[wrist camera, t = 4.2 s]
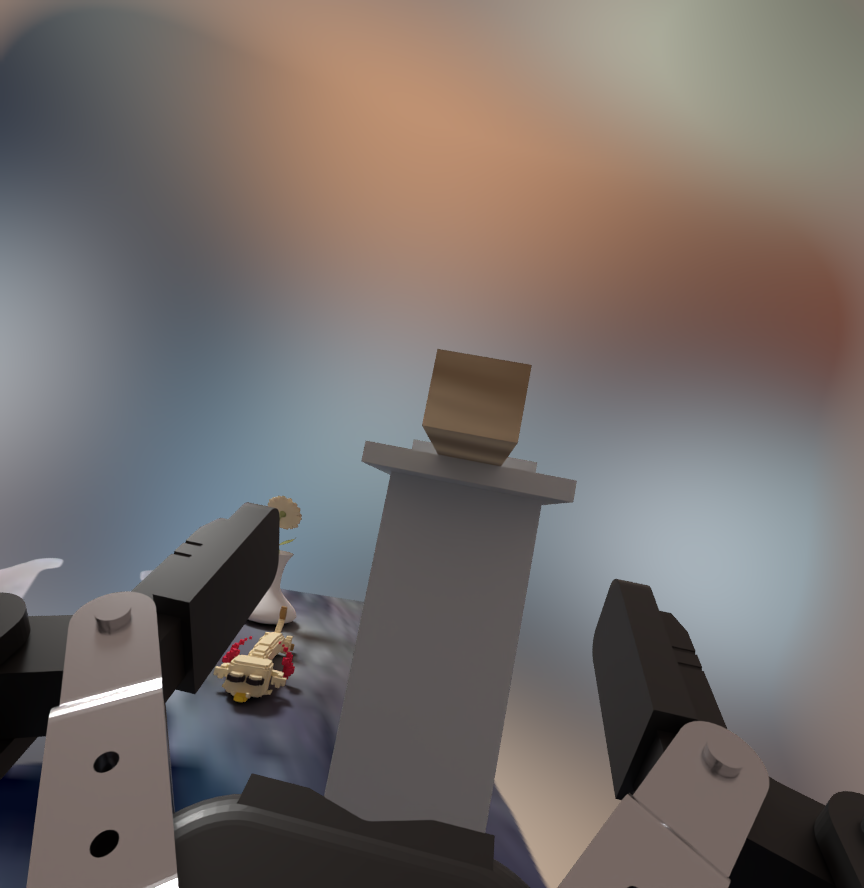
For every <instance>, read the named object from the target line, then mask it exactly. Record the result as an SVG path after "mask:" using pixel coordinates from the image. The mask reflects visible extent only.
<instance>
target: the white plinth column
mask: <svg viewBox="0 0 864 888" xmlns="http://www.w3.org/2000/svg"><path fill="white" fill-rule="evenodd" d="M362 462H364V463H366V464H368V465H371V466H373V467H375V468H377V469H379V470H381V471H383V472H385V473H388V474H390V480H389V485H388V490H387V495H386V499H385V504H384V509H383V514H382V520H381V524H380V528H379V534H378V538H377V543H376V548H375V553H374V558H373V562H372V568H371V572H370V577H369V582H368V587H367V591H366V597H365V601H364V606H363V611H362V616H361V620H360V625H359V630H358V635H357V640H356V645H355V650H354V654H353V659H352V664H351V669H350V674H349V679H348V683H347V688H346V693H345V698H344V703H343V708H342V712H341V717H340V722H339V727H338V732H337V737H336V742H335V746H334V751H333V756H332V761H331V766H330V771H329V775H328V780H327V785H326V790H325V795H324V797H325V798H327V799H329V800H330V801H332V802H334V803H335V804H337V805H339V806H340V807H342V808H344V809H346V810H347V811H349V812H351V813H352V814H354V815H356V816H357V817H359V818H361V819H363V820H366V821H406V820H436V821H439V822H443V823H447V824H451V825H455V826H459V827H463V828H467V829H471V830H475V831H478V832H482V833H485V830H486V824H487V818H488V813H489V807H490V801H491V795H492V789H493V784H494V778H495V772H496V766H497V760H498V755H499V748H500V743H501V737H502V731H503V726H504V719H505V714H506V708H507V702H508V697H509V690H510V685H511V679H512V673H513V667H514V662H515V656H516V650H517V644H518V638H519V633H520V627H521V621H522V615H523V609H524V604H525V597H526V592H527V586H528V580H529V575H530V569H531V562H532V557H533V551H534V545H535V540H536V533H537V528H538V522H539V516H540V511H541V505H548V504H558V503H569V502H573V500H574V494H575V488H576V482H577V481H575V480H570V479H565V478H560V477H555V476H549V475H544V474H539V473H535V472H536V466H537V462H532V461H526V460H521V459H516V458H510V457H507V459H506V460H505V461H504V463H503V464H502V466H497V465H491V464H486V463H481V462H476V461H470V460H465V459H460V458H455V457H449V456H444V455H439V454H437V452H436V450H435V448H434V446H433V444H432V443H430V442H425V441H420V440H414V441H413V447H412V449H407V448H402V447H396V446H391V445H386V444H380V443H375V442H370V441H366V442H365V447H364V451H363V456H362Z"/></svg>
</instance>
